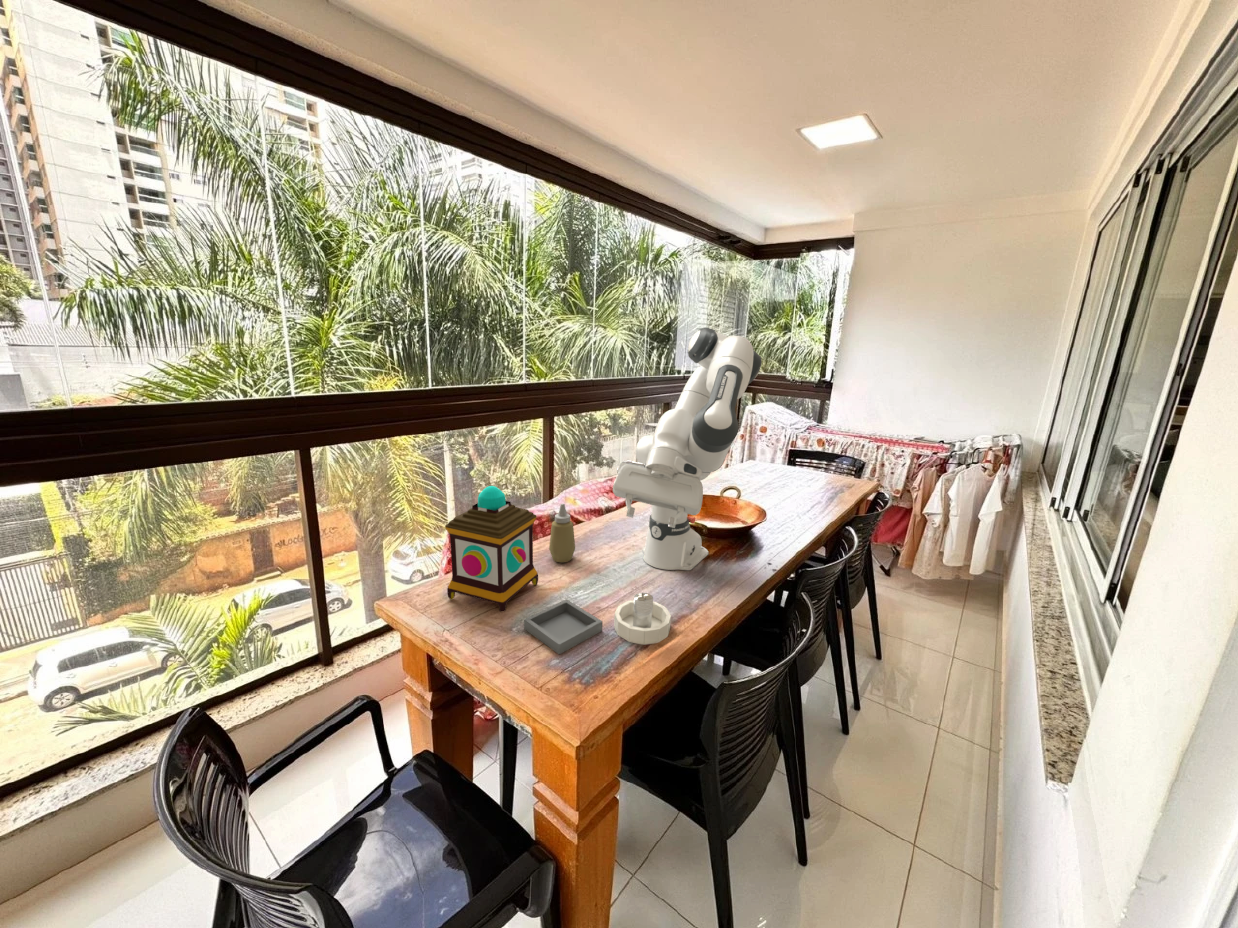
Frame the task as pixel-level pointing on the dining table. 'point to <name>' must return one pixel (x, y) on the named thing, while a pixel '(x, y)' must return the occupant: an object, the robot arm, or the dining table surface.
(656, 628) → the bowl
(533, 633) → the tray
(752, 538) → the dining table surface
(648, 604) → the pebble cup
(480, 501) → the decorative lantern
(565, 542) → the squeeze bottle
